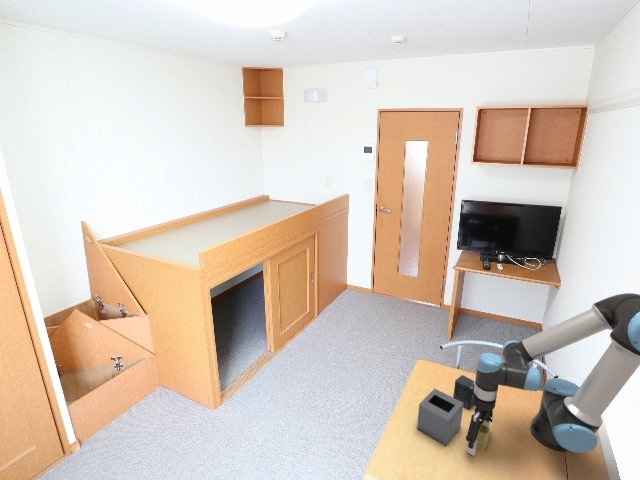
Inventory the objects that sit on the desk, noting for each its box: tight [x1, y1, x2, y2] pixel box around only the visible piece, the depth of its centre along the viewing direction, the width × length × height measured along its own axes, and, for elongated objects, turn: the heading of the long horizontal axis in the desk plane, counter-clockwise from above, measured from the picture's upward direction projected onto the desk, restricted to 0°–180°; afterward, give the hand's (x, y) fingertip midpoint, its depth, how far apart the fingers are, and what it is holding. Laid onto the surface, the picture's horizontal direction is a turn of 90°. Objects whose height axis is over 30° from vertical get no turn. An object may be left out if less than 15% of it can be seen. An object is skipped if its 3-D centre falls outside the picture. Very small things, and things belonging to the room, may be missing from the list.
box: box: [452, 374, 476, 411], centre depth 162 cm, size 8×6×11 cm
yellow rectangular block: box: [466, 424, 491, 452], centre depth 142 cm, size 6×4×8 cm, turn 46°
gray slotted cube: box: [416, 388, 464, 447], centre depth 148 cm, size 12×12×12 cm
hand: (477, 443), depth 143 cm, fingers open, 11 cm apart
